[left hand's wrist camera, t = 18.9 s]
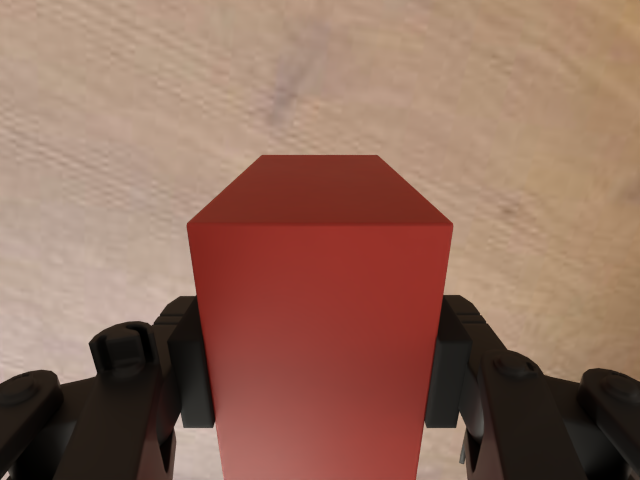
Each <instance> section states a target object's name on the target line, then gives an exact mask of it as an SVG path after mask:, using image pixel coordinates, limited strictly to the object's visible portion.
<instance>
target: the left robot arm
mask: <svg viewBox="0 0 640 480" xmlns="http://www.w3.org/2000/svg"><path fill="white" fill-rule="evenodd" d="M89 347H90V350H91V353H92V357H93V360H94V364H95V367H96V370H97V375H96V377H92V378H89V379H84V380H80V381H75V382H70V383H66V384H61V385H60V383H59V380H58V377H57V375H56V374H55V373H53V372H52V371H47V370H37V371H30V372H26V373H22V374H19V375H17V376H14V377H12V378H11V379H9V380H7V381H5V382H3V383H1V384H0V480H1V478H2V477H3V476H4V475H5V473H6V472H7V471H8V472H9V474H10V476H9V477H8V478H7V480H172V479H173V469H174V459H175V449H176V436H175V431H174V426H175V423H176V421H177V419H178V417H179V415H180V412H181V417H182V422H183V427H184V428H213V426H214V423H215V416H214V409H213V403H212V396H211V389H210V382H209V375H208V368H207V362H206V355H205V348H204V341H203V334H202V328H201V321H200V314H199V307H198V300H197V295H196V296H180V297H178V298H177V299H175V300H174V301H172V302H171V303H169V304H168V305H167V306H166V307H165V309H164V310H163V311H162V313H161V314H160V316H159V317H158V318H157V319H156V320H155V322H154V325H152V326H151V325H150V324H148V323H145V322H141V321H132V322H125V323H121V324H116V325H114V326H111V327H109V328H107V329H104V330H103V331H101V332H100V333H98V334H97V335H96V336H94V337H93V339H92V340H91V341H90V342H89ZM459 411H460V413H461V416H462V418H463V420H464V422H465V424H466V431H465V436H464V441H463V445H462V450H461V455H460V461H459V463H461V464H464V462H465V458H466V468H467V478H468V480H640V382H639V381H637V380H635V379H633V378H631V377H629V376H627V375H625V374H622V373H619V372H616V371H613V370H607V369H601V368H596V369H589V370H587V371H586V372H585V373H583V376H582V379H581V382H580V383H576V382H572V381H567V380H563V379H558V378H553V377H550V376H546V375H544V374H543V372H542V371H541V369H540V368H539V367H538V365H537V364H536V363H534V362H533V361H532V360H530V359H529V358H528V357H526V356H524V355H521V354H519V353H517V352H514V351H510V350H507V348H506V347H505V346H504V344H503V343H502V342H501V340H500V339H499V338H498V337H497V335H496V334H495V333H494V331H493V330H492V329H491V327H490V326H489V325H488V324H486V321H485V319H484V318H483V317H482V315H480V313H479V311H478V310H477V309H476V307H475V306H474V305H473V304H472V303H471V302H469V301H468V300H466V299H465V298H463V297H462V296H460V295H443V299H442V306H441V313H440V319H439V326H438V333H437V339H436V346H435V353H434V360H433V366H432V373H431V380H430V387H429V393H428V400H427V407H426V414H425V420H424V421H425V424H426V427H427V428H456V426H457V420H458V415H459Z"/></svg>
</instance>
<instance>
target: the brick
mask: <svg viewBox="0 0 640 480" xmlns="http://www.w3.org/2000/svg"><path fill="white" fill-rule="evenodd" d="M187 232H188V239H189V246H190V253H191V260H192V266H193V273H194V280H195V287H196V294H197V300H198V307H199V314H200V321H201V328H202V334H203V341H204V348H205V355H206V362H207V368H208V375H209V382H210V389H211V396H212V403H213V409H214V416H215V423H216V430H217V437H218V443H219V450H220V457H221V464H222V471H223V478H224V480H416V474H417V467H418V461H419V454H420V447H421V440H422V434H423V427H424V420H425V414H426V407H427V400H428V393H429V387H430V380H431V373H432V366H433V360H434V353H435V346H436V339H437V333H438V326H439V319H440V313H441V306H442V299H443V292H444V286H445V279H446V272H447V266H448V259H449V252H450V245H451V239H452V232H453V223H452V222H451V221H450V220H449V219H447V218H446V217H445V216H444V215H443V214H442V213H441V212H440V211H439V210H438V209H436V208H435V207H434V206H433V205H432V204H431V203H430V202H429V201H428V200H426V199H425V198H424V197H423V196H422V195H421V194H420V193H419V192H418V191H417V190H415V189H414V188H413V187H412V186H411V185H410V184H409V183H408V182H407V181H406V180H404V179H403V178H402V177H401V176H400V175H399V174H398V173H397V172H396V171H395V170H393V169H392V168H391V167H390V166H389V165H388V164H387V163H386V162H385V161H383V160H382V159H381V158H380V157H379V156H378V155H261V156H260V157H259V158H258V159H257V160H256V161H255V162H254V163H253V164H251V165H250V166H249V167H248V168H247V169H246V170H245V171H244V172H243V173H242V174H241V175H239V176H238V177H237V178H236V179H235V180H234V181H233V182H232V183H231V184H230V185H228V186H227V187H226V188H225V189H224V190H223V191H222V192H221V193H220V194H219V195H218V196H216V197H215V198H214V199H213V200H212V201H211V202H210V203H209V204H208V205H207V206H205V207H204V208H203V209H202V210H201V211H200V212H199V213H198V214H197V215H196V216H195V217H193V218H192V219H191V220H190V221H189V222H188V223H187Z"/></svg>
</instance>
